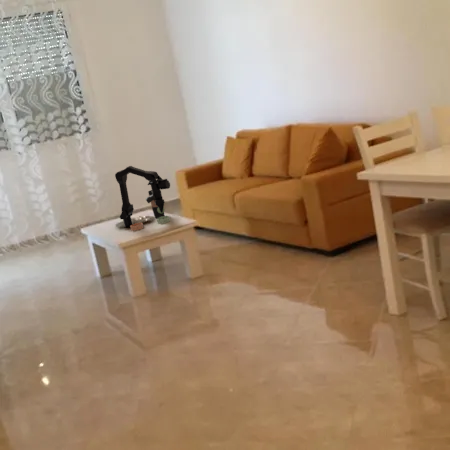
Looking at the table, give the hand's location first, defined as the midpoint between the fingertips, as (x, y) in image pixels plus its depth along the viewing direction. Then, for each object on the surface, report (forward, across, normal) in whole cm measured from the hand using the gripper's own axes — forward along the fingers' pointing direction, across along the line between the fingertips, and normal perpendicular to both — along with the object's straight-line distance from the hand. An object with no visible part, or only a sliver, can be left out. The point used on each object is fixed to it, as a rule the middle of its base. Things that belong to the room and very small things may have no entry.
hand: (161, 211), depth 482 cm
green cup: (+7, 0, 0) cm, 7 cm away
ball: (-2, 0, 0) cm, 2 cm away
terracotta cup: (+7, 0, -19) cm, 20 cm away
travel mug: (+8, -19, -1) cm, 20 cm away
